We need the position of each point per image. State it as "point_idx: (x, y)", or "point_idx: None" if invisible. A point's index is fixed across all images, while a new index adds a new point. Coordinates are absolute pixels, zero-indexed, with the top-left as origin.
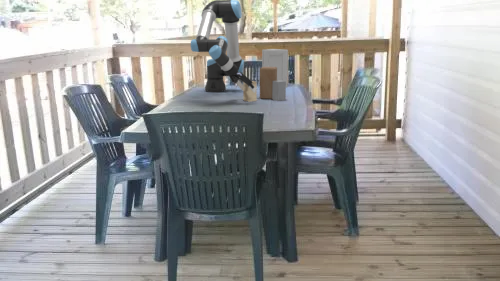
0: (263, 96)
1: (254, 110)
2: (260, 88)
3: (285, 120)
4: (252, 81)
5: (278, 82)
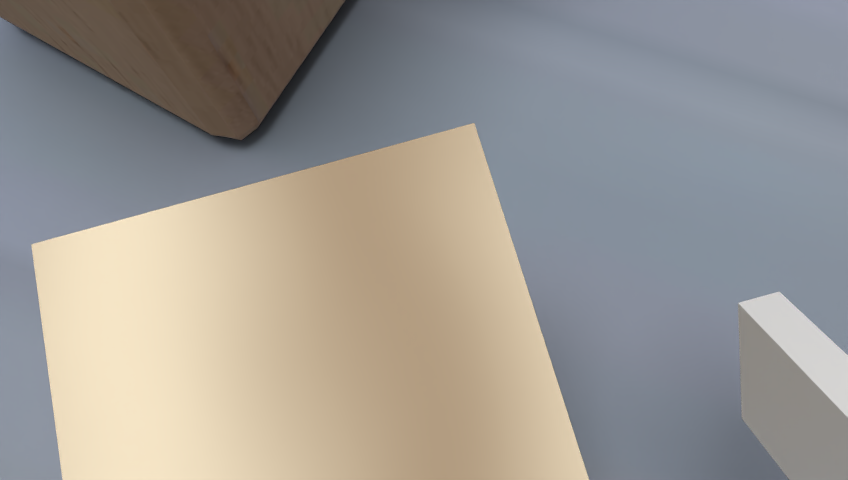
0: (284, 66)
1: None
2: (178, 20)
3: None
4: (258, 250)
5: None
